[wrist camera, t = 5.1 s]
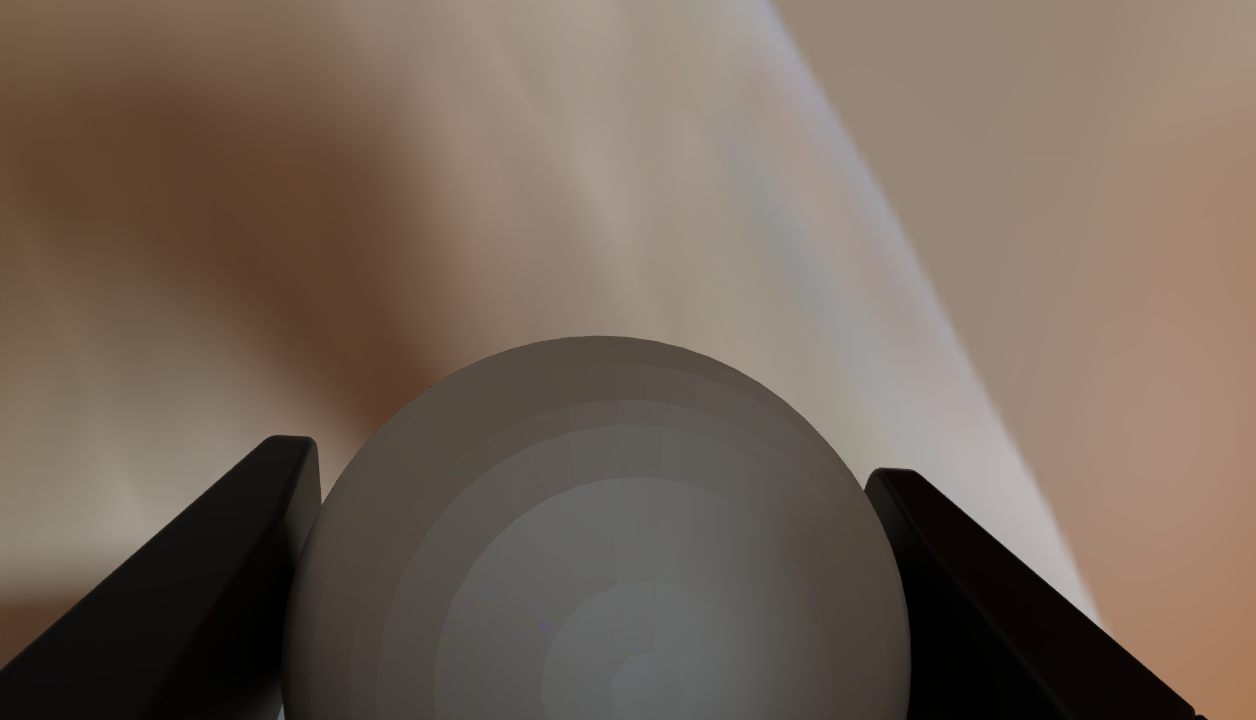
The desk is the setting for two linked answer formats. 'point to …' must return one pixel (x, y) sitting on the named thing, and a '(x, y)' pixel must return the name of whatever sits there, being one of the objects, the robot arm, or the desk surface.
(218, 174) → the desk surface
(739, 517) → the light bulb
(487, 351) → the desk surface
